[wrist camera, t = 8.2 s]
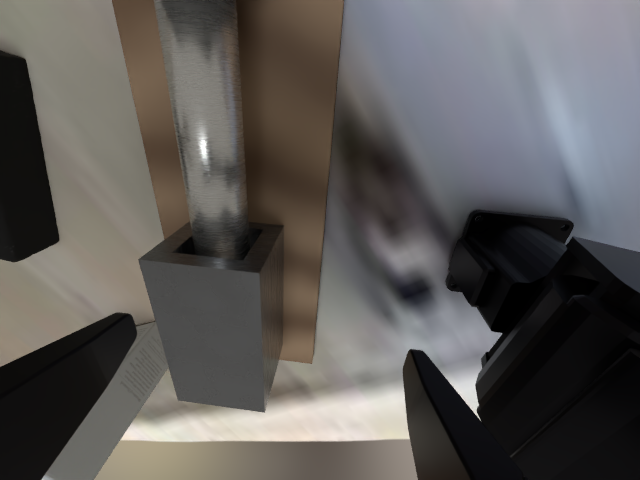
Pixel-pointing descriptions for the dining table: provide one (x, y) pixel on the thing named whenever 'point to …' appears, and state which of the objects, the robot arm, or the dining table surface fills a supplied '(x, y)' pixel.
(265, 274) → the sleeve
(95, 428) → the skincare box
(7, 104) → the coral
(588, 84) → the dining table surface
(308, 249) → the walnut board
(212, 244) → the steel tube
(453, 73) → the dining table surface
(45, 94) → the dining table surface
